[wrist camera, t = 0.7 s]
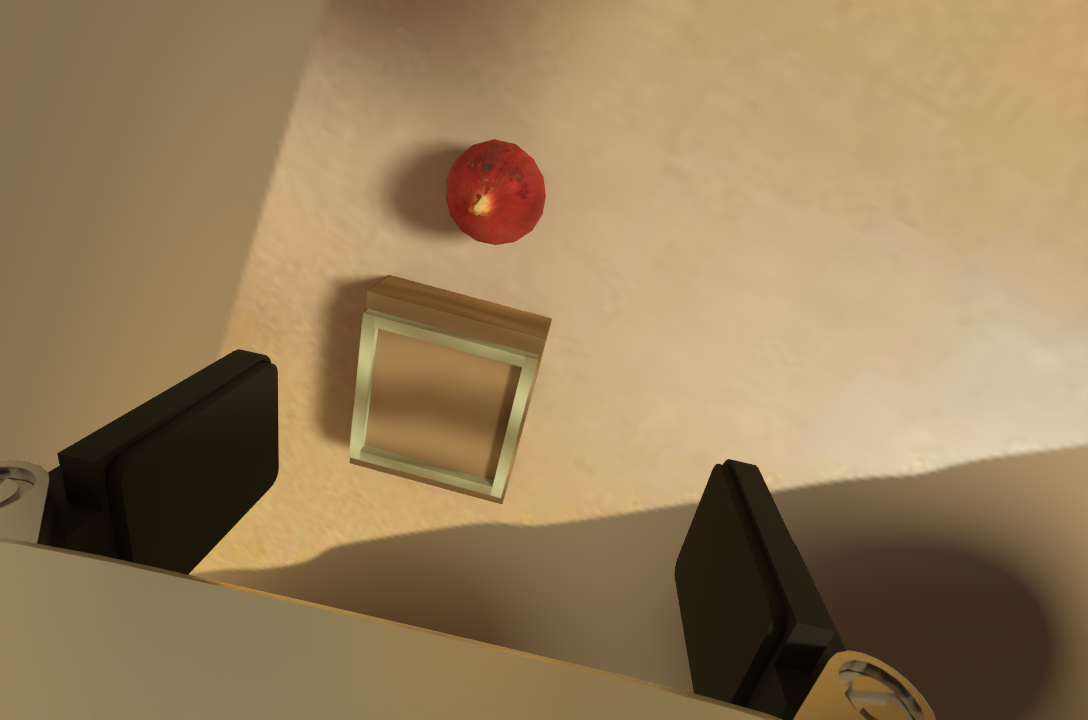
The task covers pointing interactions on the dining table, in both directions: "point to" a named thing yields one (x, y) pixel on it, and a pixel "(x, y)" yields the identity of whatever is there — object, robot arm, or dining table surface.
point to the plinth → (443, 386)
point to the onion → (495, 192)
